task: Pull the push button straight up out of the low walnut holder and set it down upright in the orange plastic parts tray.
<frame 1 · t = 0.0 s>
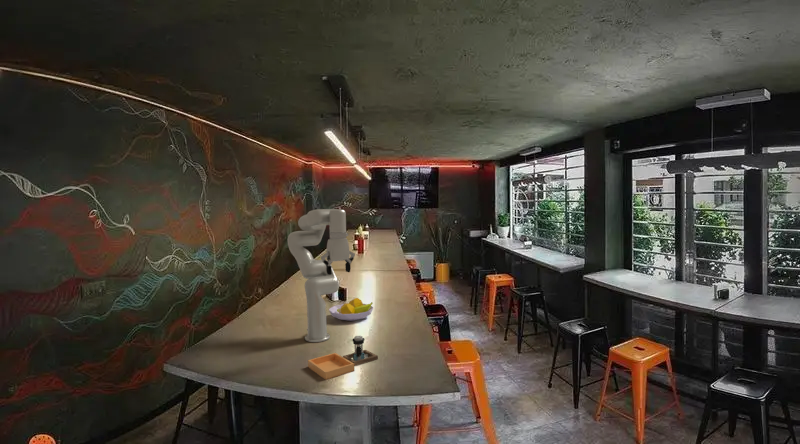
hand: (338, 273, 181), 37 cm above the table, tool pointing down, fingers open, 9 cm apart
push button: (360, 359, 172), resting in component holder
parts tray: (330, 369, 162), on the table
component holder: (360, 359, 172), on the table
fruit bowl: (352, 318, 237), on the table
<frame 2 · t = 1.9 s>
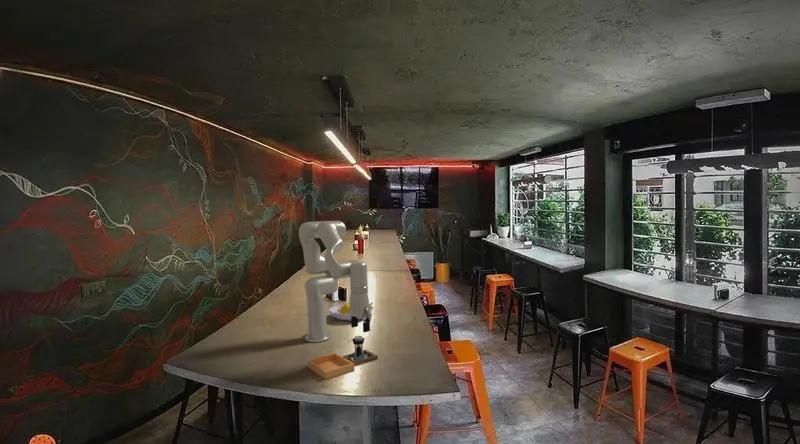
hand: (360, 329, 171), 14 cm above the table, tool pointing down, fingers open, 9 cm apart
nothing on the table moved.
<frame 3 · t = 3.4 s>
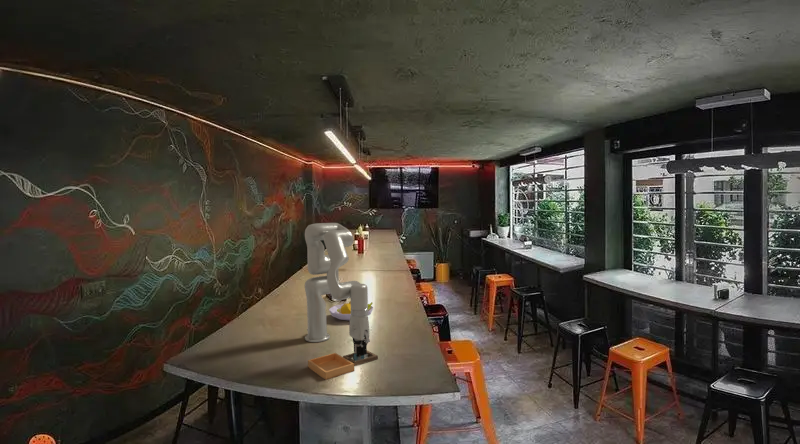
hand: (360, 352, 172), 3 cm above the table, tool pointing down, fingers closed on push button, 4 cm apart
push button: (360, 359, 172), resting in component holder, touching gripper
everything else where it was.
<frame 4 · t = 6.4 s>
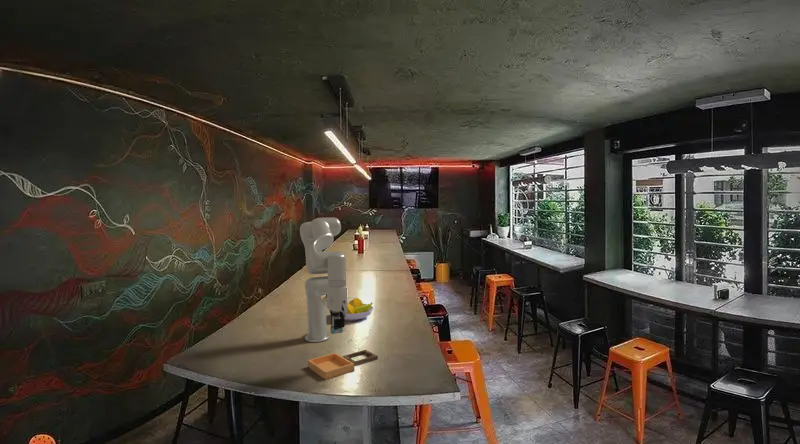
hand: (337, 325, 164), 17 cm above the table, tool pointing down, fingers closed on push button, 4 cm apart
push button: (338, 332, 164), point 14 cm above the table, touching gripper
everything else where it was.
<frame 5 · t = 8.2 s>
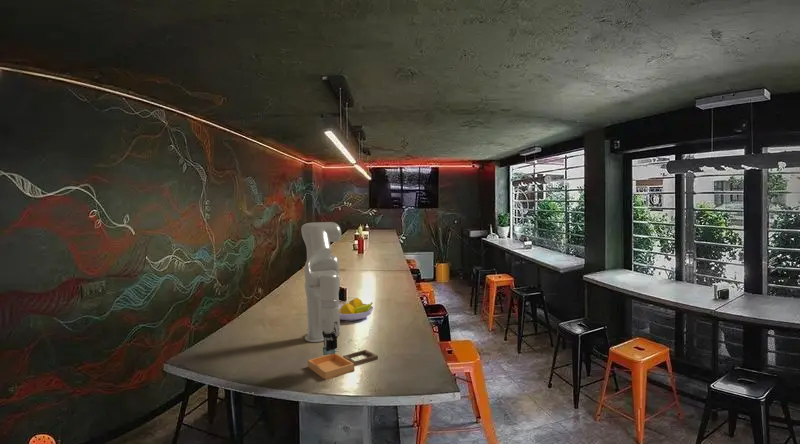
hand: (330, 346, 162), 9 cm above the table, tool pointing down, fingers closed on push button, 4 cm apart
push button: (330, 354, 162), point 6 cm above the table, touching gripper
everything else where it was.
when the fingers open (5 cm above the table, at t = 9.4 s): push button drops 1 cm, resting on parts tray.
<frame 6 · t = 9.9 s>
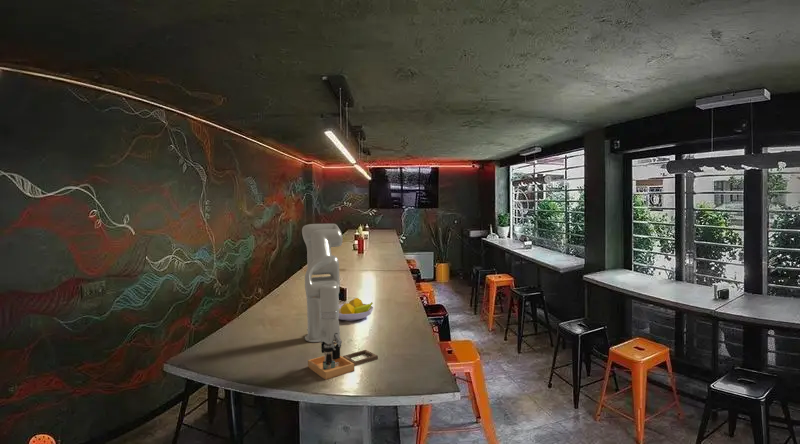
hand: (330, 355, 162), 6 cm above the table, tool pointing down, fingers open, 9 cm apart
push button: (330, 368, 162), resting on parts tray
everything else where it was.
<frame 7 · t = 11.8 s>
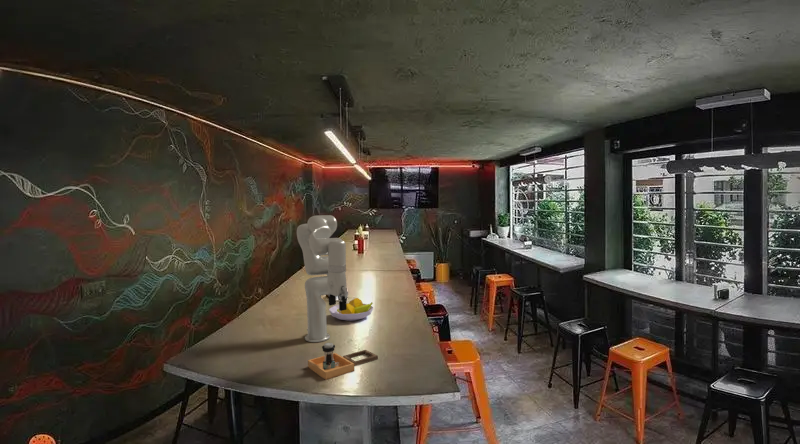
hand: (337, 307, 170), 23 cm above the table, tool pointing down, fingers open, 9 cm apart
nothing on the table moved.
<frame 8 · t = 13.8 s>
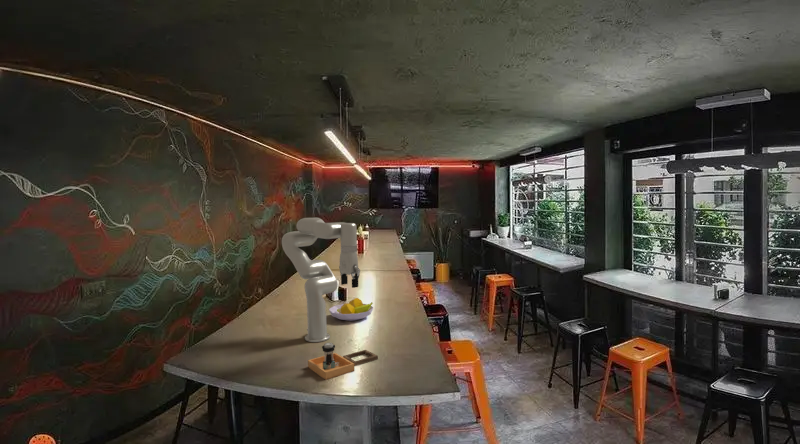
hand: (349, 285, 183), 30 cm above the table, tool pointing down, fingers open, 9 cm apart
nothing on the table moved.
at the end: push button inside the target area on the parts tray (0.3 cm from its centre), point 0.3 cm above the parts tray's base; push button tilted 0°; the gripper is holding nothing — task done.
